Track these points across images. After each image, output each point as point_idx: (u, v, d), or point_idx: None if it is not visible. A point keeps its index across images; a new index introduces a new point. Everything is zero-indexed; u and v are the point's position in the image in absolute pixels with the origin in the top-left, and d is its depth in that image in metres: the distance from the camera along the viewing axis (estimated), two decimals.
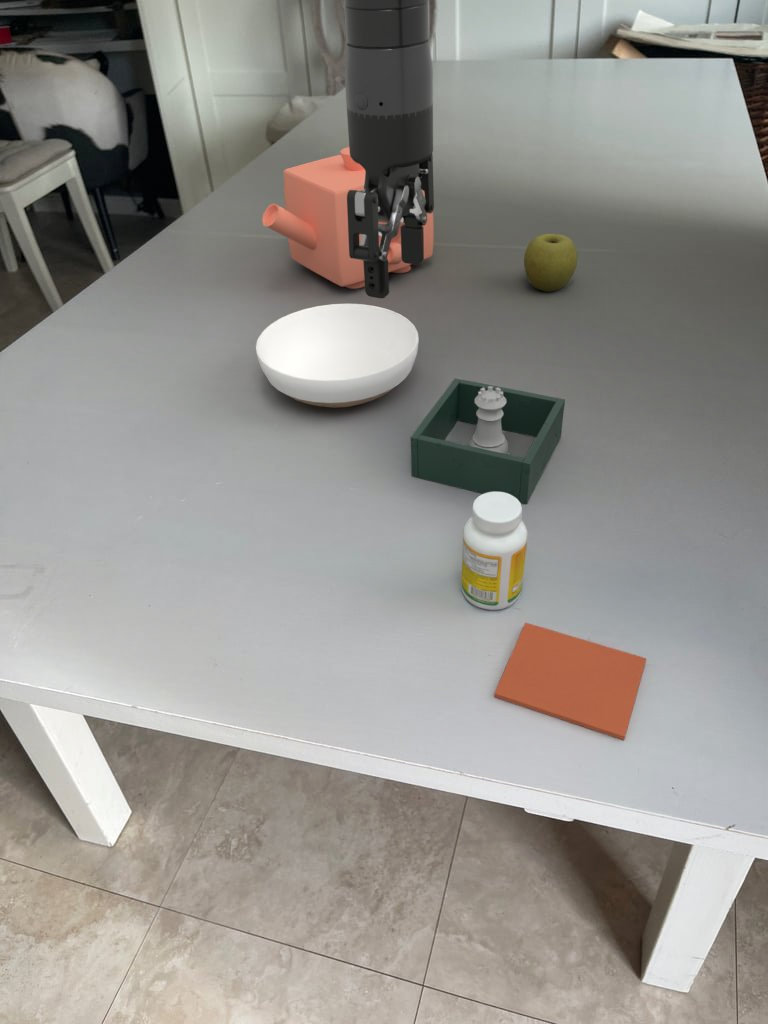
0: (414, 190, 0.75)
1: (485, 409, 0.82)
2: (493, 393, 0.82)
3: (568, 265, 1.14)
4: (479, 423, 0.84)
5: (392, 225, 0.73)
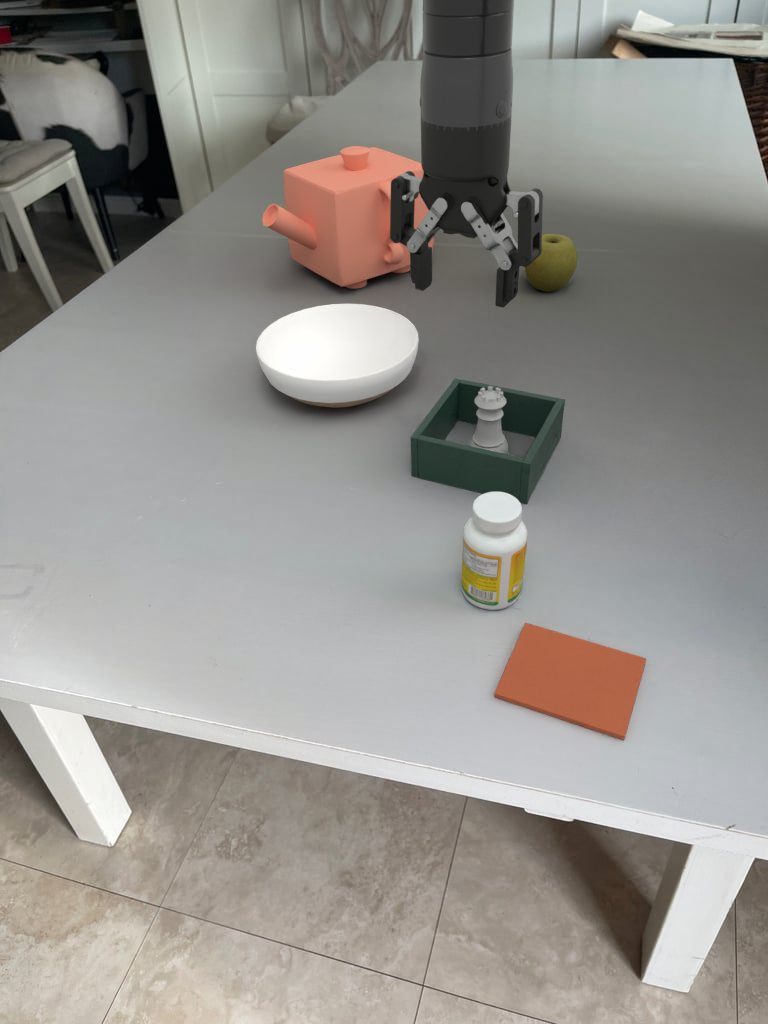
0: None
1: (485, 410, 0.82)
2: (493, 393, 0.82)
3: (568, 265, 1.14)
4: (479, 423, 0.84)
5: (508, 224, 0.72)
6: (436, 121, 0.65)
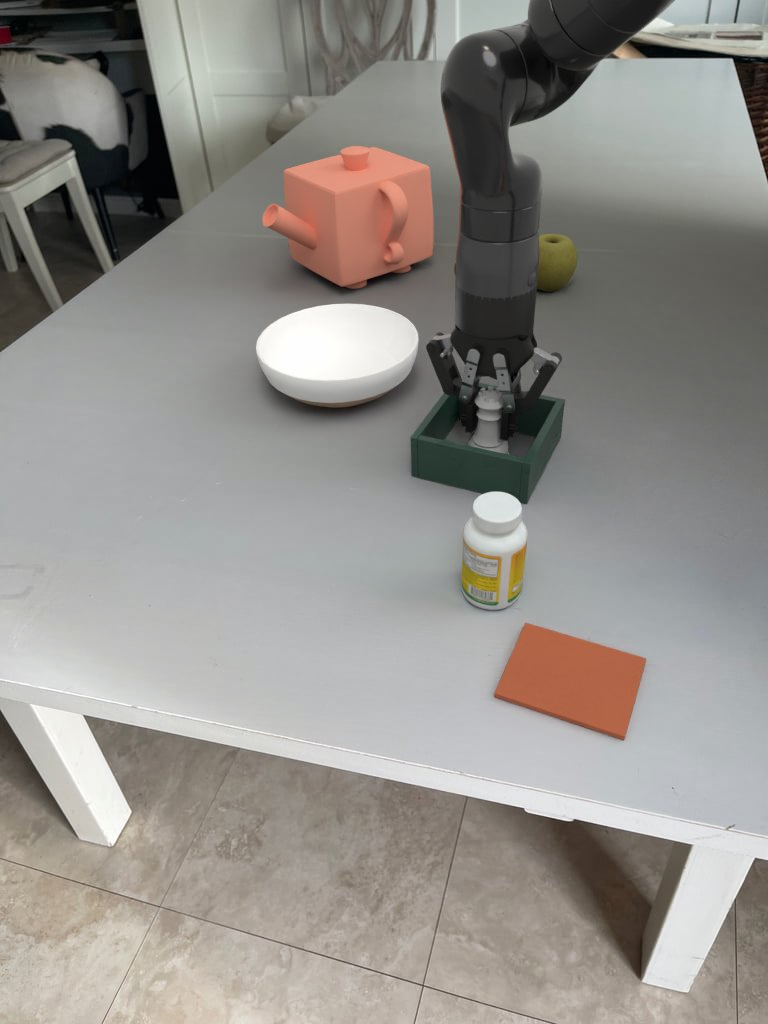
0: None
1: (485, 410, 0.82)
2: (493, 393, 0.82)
3: (568, 265, 1.14)
4: (479, 423, 0.84)
5: (520, 371, 0.81)
6: (474, 292, 0.72)
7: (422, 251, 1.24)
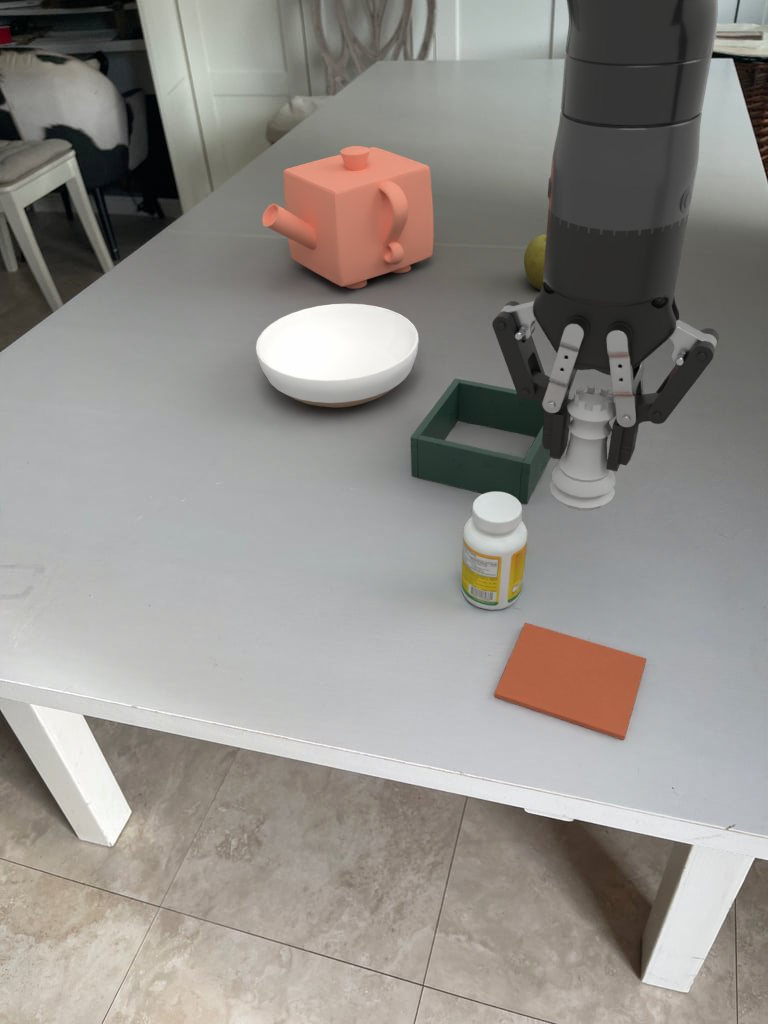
0: None
1: (586, 422, 0.52)
2: (597, 396, 0.52)
3: None
4: (573, 443, 0.54)
5: (642, 362, 0.51)
6: (587, 221, 0.42)
7: (422, 251, 1.24)
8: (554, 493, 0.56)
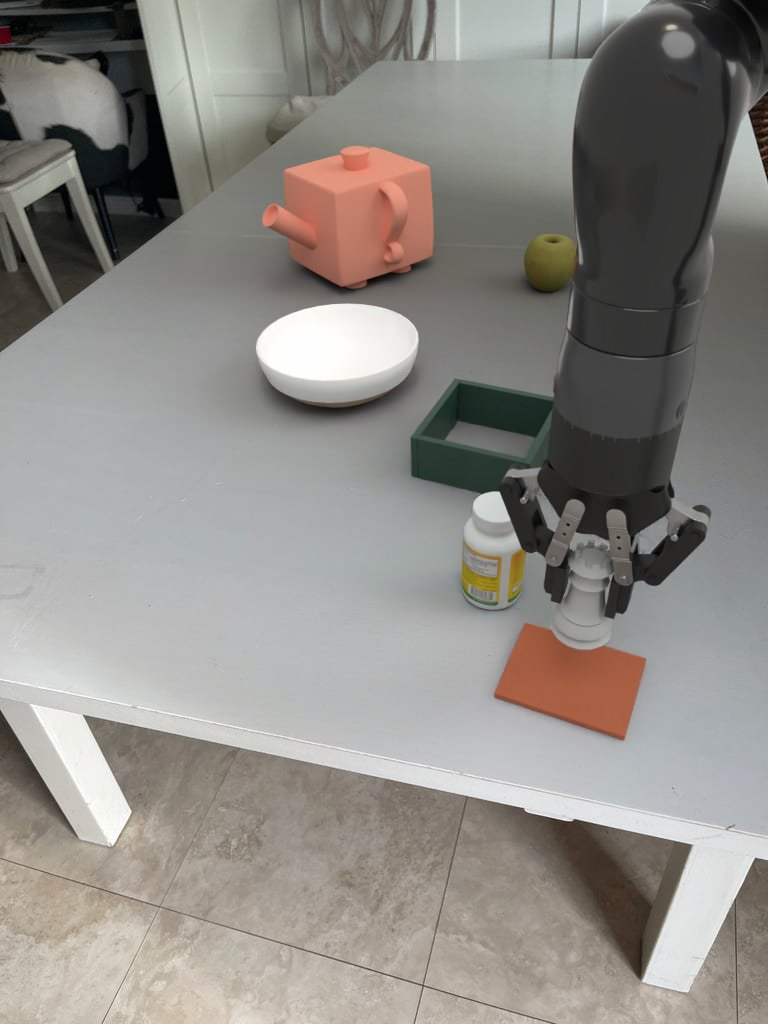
0: None
1: (586, 578, 0.55)
2: (596, 551, 0.55)
3: (568, 265, 1.14)
4: (573, 592, 0.57)
5: None
6: (590, 427, 0.45)
7: (422, 251, 1.24)
8: (555, 632, 0.59)
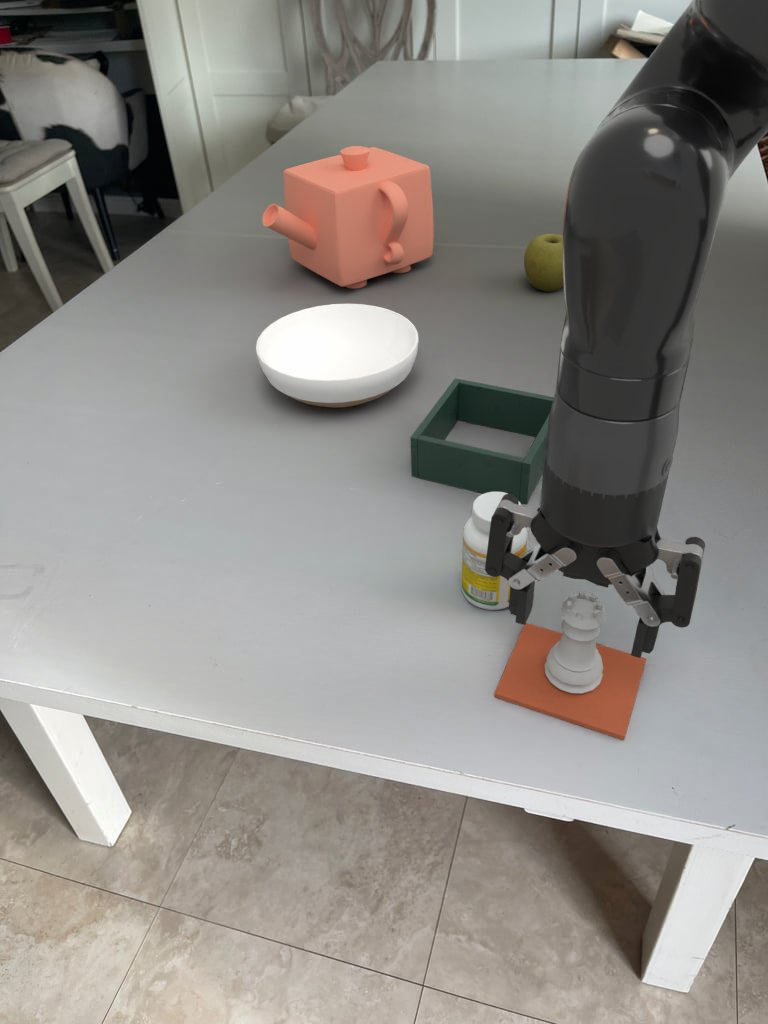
0: None
1: (577, 628, 0.58)
2: (587, 602, 0.59)
3: None
4: (565, 639, 0.60)
5: None
6: (579, 484, 0.47)
7: (422, 251, 1.24)
8: (548, 676, 0.63)
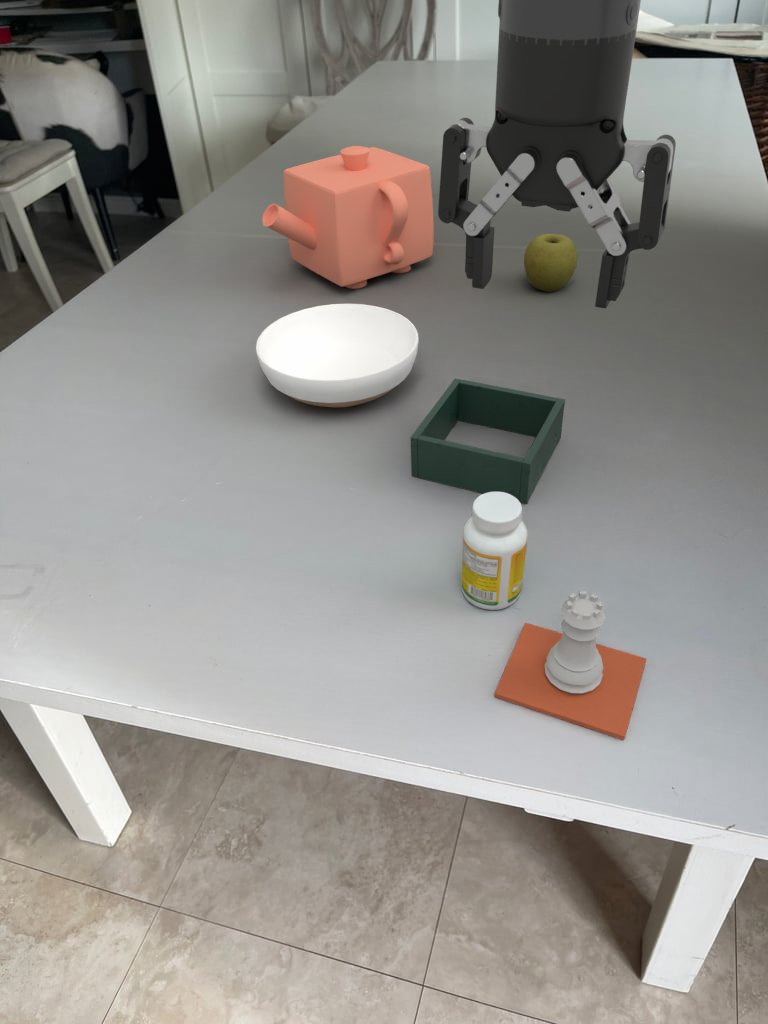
0: None
1: (577, 628, 0.58)
2: (587, 602, 0.59)
3: (568, 265, 1.14)
4: (566, 639, 0.60)
5: (614, 190, 0.50)
6: (534, 32, 0.42)
7: (422, 251, 1.24)
8: (548, 676, 0.63)
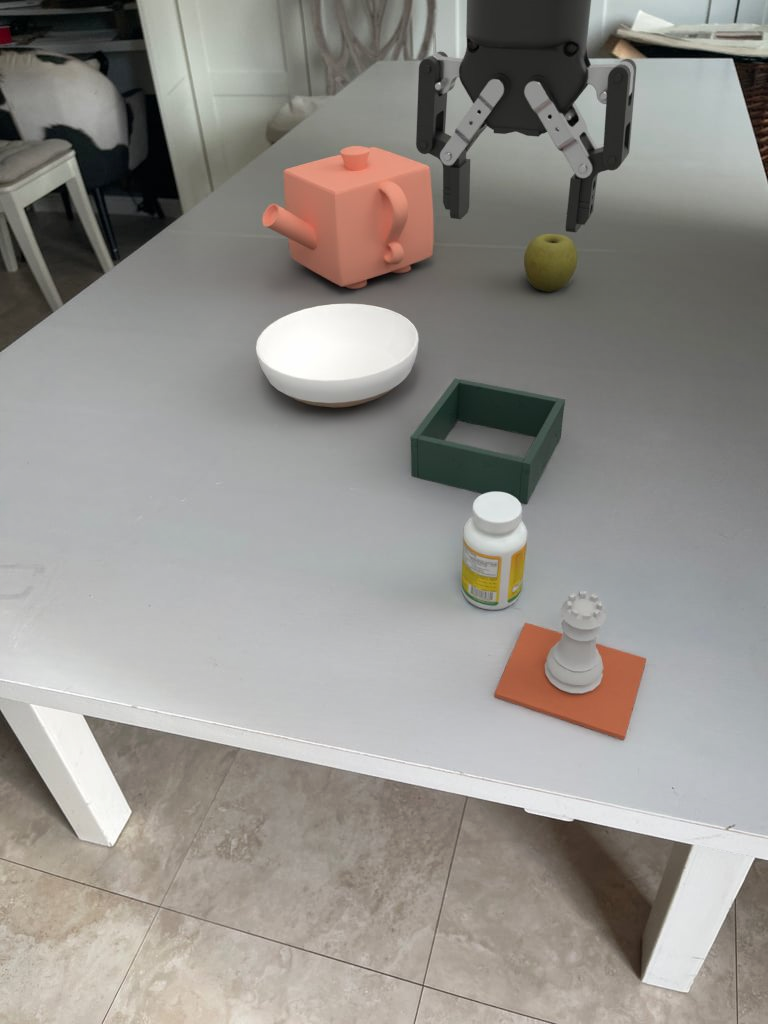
0: None
1: (577, 628, 0.58)
2: (587, 602, 0.59)
3: (568, 265, 1.14)
4: (566, 639, 0.60)
5: (581, 117, 0.53)
6: None
7: (422, 251, 1.24)
8: (548, 676, 0.63)
